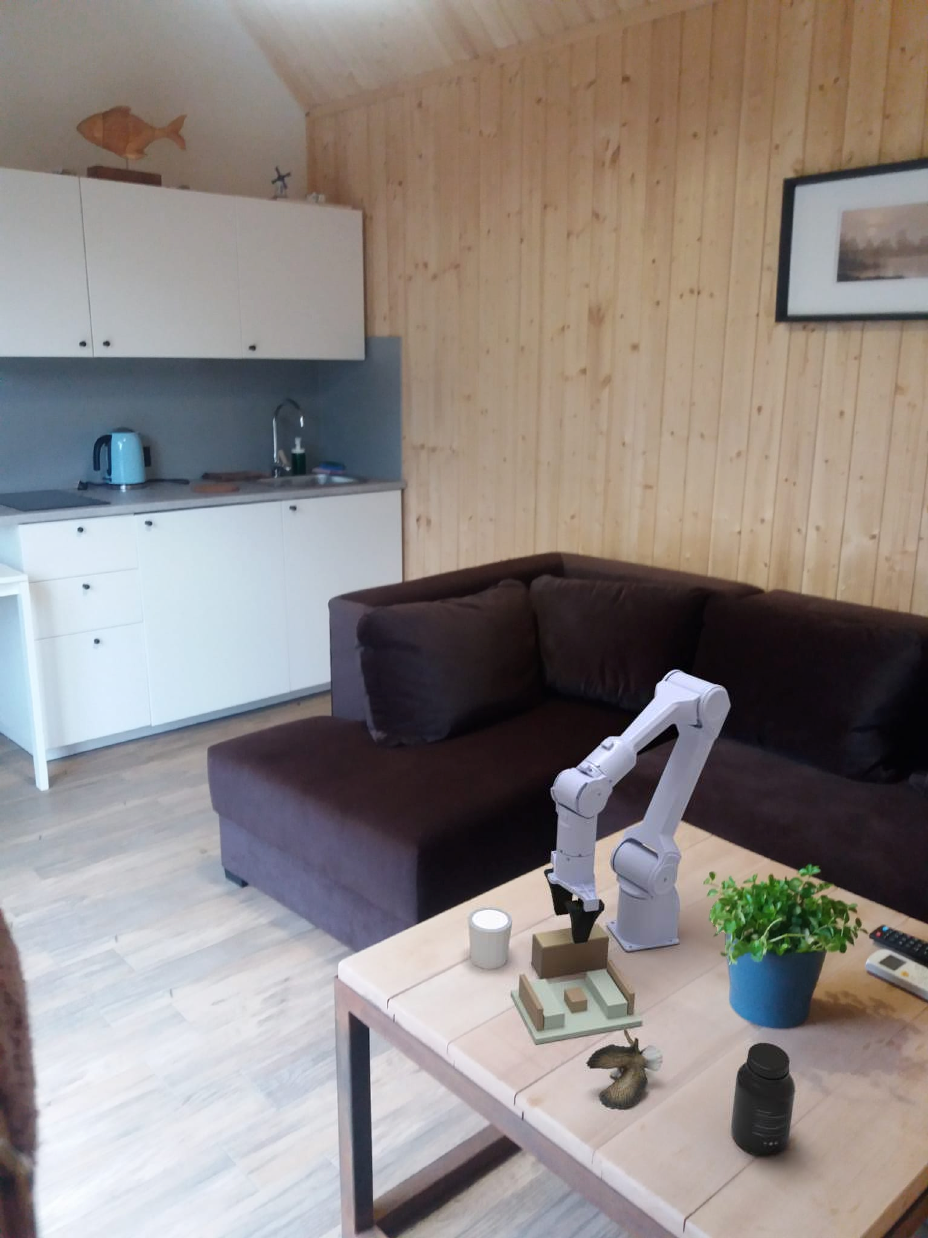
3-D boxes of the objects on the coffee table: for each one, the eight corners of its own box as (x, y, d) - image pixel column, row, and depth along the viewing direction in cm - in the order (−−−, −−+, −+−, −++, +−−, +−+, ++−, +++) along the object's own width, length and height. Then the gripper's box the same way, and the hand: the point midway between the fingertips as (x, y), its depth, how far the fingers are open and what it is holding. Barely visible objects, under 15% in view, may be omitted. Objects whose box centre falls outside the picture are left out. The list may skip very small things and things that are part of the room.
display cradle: (610, 978, 153) (612, 953, 152) (642, 1025, 143) (644, 999, 142) (510, 995, 149) (511, 969, 147) (535, 1044, 139) (536, 1017, 137)
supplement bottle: (722, 1117, 126) (731, 1036, 123) (775, 1115, 127) (785, 1034, 124) (741, 1161, 120) (751, 1077, 116) (797, 1158, 120) (808, 1074, 117)
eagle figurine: (606, 1044, 137) (572, 1069, 130) (639, 1015, 134) (605, 1039, 127) (643, 1094, 134) (610, 1122, 127) (677, 1065, 131) (645, 1093, 124)
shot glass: (511, 947, 160) (513, 908, 158) (509, 973, 154) (511, 933, 152) (469, 943, 161) (470, 905, 159) (464, 969, 154) (465, 930, 152)
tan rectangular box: (596, 954, 159) (598, 922, 158) (607, 969, 156) (609, 936, 154) (531, 965, 156) (532, 933, 154) (540, 981, 152) (542, 948, 151)
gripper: (534, 828, 156) (530, 905, 159) (568, 875, 142) (563, 958, 146) (576, 823, 158) (572, 900, 161) (614, 869, 144) (608, 952, 148)
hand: (570, 927), depth 154 cm, fingers open, 7 cm apart
